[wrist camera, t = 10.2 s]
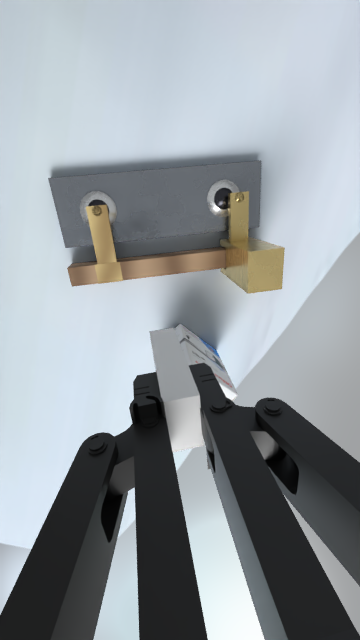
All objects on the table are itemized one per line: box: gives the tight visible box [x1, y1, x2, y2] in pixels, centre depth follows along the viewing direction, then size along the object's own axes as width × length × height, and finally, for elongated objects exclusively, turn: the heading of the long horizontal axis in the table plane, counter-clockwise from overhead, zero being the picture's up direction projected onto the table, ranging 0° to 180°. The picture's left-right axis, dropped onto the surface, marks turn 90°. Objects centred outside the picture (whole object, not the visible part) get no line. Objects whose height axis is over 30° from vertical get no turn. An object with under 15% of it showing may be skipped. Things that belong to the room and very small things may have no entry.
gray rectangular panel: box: [48, 161, 261, 248], centre depth 35 cm, size 26×8×1 cm, turn 95°
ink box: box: [175, 324, 238, 401], centre depth 40 cm, size 9×5×12 cm, turn 49°
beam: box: [67, 205, 226, 286], centre depth 36 cm, size 26×9×3 cm, turn 95°
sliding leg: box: [220, 191, 284, 293], centre depth 33 cm, size 4×10×11 cm, turn 5°
